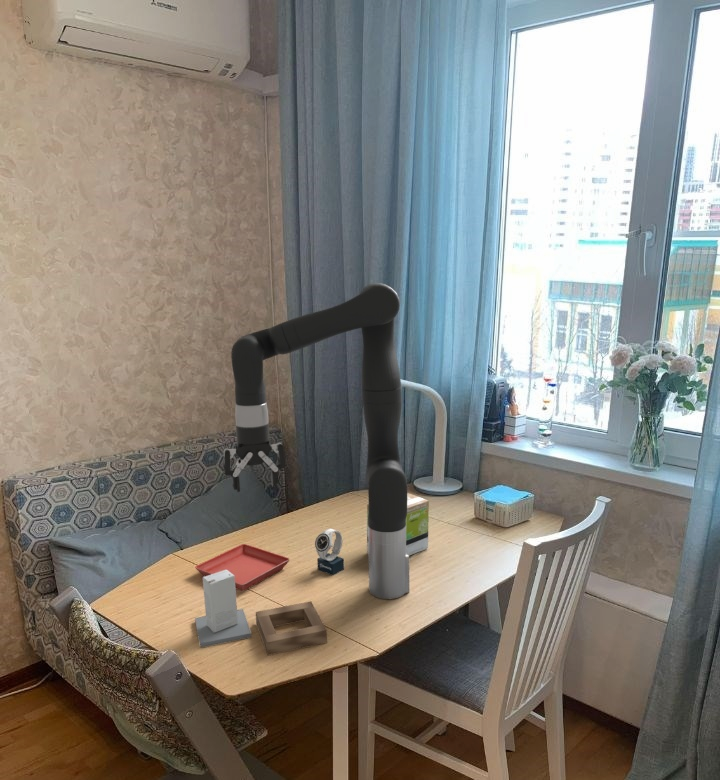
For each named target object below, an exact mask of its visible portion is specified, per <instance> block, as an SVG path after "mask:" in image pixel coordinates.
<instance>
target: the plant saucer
mask: <svg viewBox="0 0 720 780" xmlns="http://www.w3.org/2000/svg"><path fill="white" fill-rule="evenodd" d="M290 560H291V558H290V557H287V556H285V555H281V554H278V553H275V552H271V551H269V550H268V551H267V550H266V549H262V548H259V547H257V546H254V545H253V546H252V545H250V544H246V543H242V544H239V545H237V546H235V547H233V548H231V549H229V550H227V551H225V552H223V553H220V554H218V555H216V556H214V557H212V558H210V559H207V560H206V561H203V562H202V563H200V564H197V565H195V570H196V571H197V572H198V573H199V574H201V575H203V577H205V576H208V575H211V574H214V573H217V572H220V571H223V570H228V571H229V572H231V573H232V574H233V575H234V576H235V588H236V590H239V591H242V590H244V591H246V590H247V589H249V587H250V588H251V587H253V586H255V585H257V584H258V582H259V583H261V582H263V581H265V579H268V578H269V577H271V576H273V575H275V574H277V573H278V572H280V571H281V570H283V569H284V568H285V567H286V565H287V564H288V563H289V562H290ZM267 577H268V578H267ZM256 583H257V584H256Z"/></svg>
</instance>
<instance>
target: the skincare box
mask: <svg viewBox="0 0 720 780" xmlns="http://www.w3.org/2000/svg"><path fill="white" fill-rule="evenodd" d="M202 585H203V587H202V588H203V597H204V609H205V610H204V611H205V616H206V624H207V626H208V627H209V628H210V629H211V630H212V631H213V632H214V633H215V632H218V631H220V630H223V629H225V628H228V627H231V626H233V625H236V624H238V615H237V610H238V605H237V592H236V591H237V589H236V588H235V576H234V575H233V574H232V573H231V572H229V571H228V570H223V571H220V572H217V573H214V574H211V575H208V576H203V577H202Z"/></svg>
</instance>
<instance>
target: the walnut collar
mask: <svg viewBox="0 0 720 780" xmlns="http://www.w3.org/2000/svg"><path fill="white" fill-rule="evenodd" d="M303 621H304V623H305V625H306V627H303V628H299V629H298V628H297V629H292V630H289V631H283V632H278V633H277V631H276V630H275V628H274V627H278V626H283V625H287V624H288V625H289V624H293V623H299V622H303ZM255 624H256V627H257V629H258V632H259V633H258V634H259V635H260V638H261V640H262V643H263V647H264V650H265V651H266V654H267V656H270V655H274V654H275V655H276V654H279V653H284V652H290V651H294V650H300V649H304V648H309V647H312V646H318V645H323V644H327V643H328V629H327V628H326V626H325V623H324V622H323V620H322V619H321V616H320V615H319V613H318V611H317V609H316V607H315V606H314V604H313V602H312V601H306V602H305V601H304V602H299V603H296V604H290V605H285V606H280V607H279V606H278V607H275V608H270V609H264V610H259V611H255ZM273 626H274V627H273Z"/></svg>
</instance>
